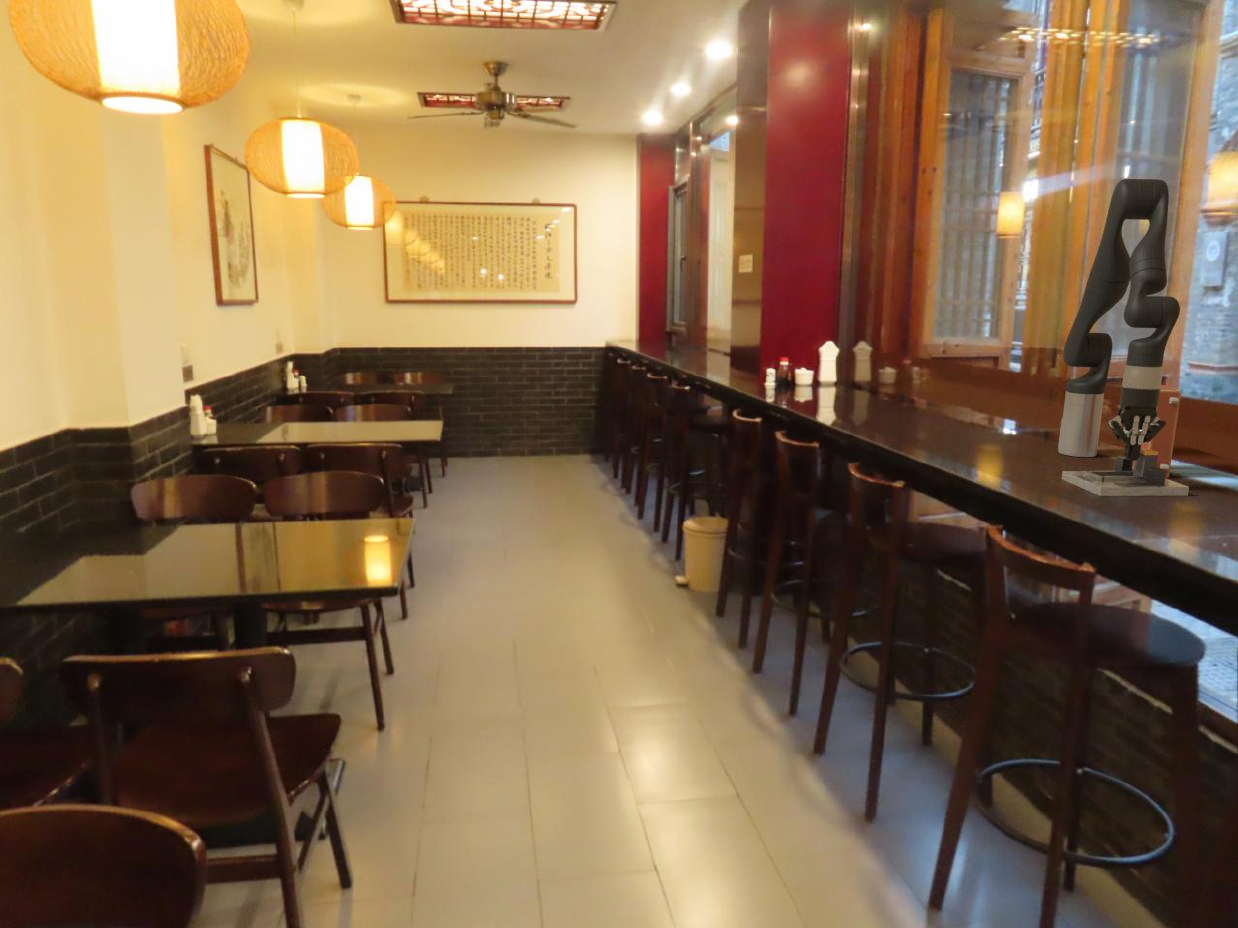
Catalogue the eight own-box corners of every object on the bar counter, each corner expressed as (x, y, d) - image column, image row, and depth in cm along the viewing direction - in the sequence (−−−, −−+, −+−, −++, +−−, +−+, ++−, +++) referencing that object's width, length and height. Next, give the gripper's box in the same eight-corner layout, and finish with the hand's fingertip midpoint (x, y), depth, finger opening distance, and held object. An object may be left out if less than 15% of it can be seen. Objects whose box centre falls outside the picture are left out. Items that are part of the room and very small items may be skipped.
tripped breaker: (1132, 474, 199) (1136, 448, 197) (1144, 474, 199) (1148, 448, 197) (1142, 478, 195) (1146, 451, 194) (1154, 478, 195) (1158, 451, 194)
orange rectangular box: (1150, 465, 220) (1174, 478, 205) (1120, 464, 221) (1143, 477, 207) (1161, 383, 215) (1187, 391, 201) (1131, 382, 216) (1155, 390, 202)
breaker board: (1061, 479, 205) (1064, 456, 204) (1143, 478, 205) (1146, 455, 204) (1099, 495, 189) (1103, 471, 188) (1187, 495, 190) (1191, 470, 188)
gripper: (1159, 383, 196) (1148, 456, 200) (1103, 383, 196) (1093, 456, 200) (1181, 387, 189) (1169, 463, 192) (1122, 387, 188) (1112, 463, 192)
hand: (1130, 459), depth 196 cm, fingers closed
